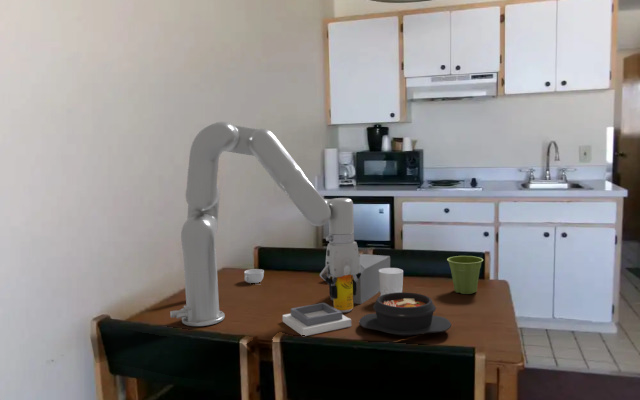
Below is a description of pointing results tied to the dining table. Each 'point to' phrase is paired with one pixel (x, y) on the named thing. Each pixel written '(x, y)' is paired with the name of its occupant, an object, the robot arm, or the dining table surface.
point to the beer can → (344, 292)
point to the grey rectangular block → (369, 277)
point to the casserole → (404, 315)
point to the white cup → (390, 280)
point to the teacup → (254, 275)
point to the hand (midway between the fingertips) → (343, 295)
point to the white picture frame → (316, 319)
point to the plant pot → (465, 273)
